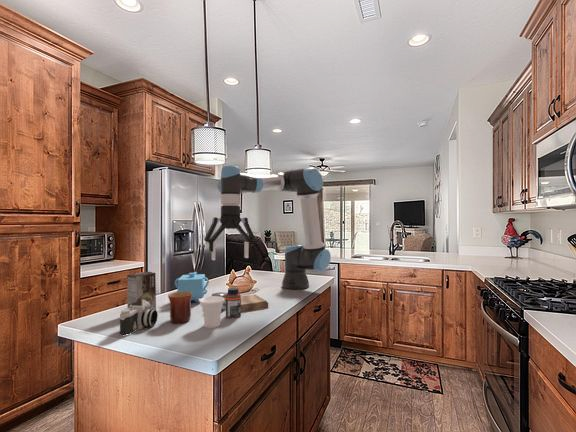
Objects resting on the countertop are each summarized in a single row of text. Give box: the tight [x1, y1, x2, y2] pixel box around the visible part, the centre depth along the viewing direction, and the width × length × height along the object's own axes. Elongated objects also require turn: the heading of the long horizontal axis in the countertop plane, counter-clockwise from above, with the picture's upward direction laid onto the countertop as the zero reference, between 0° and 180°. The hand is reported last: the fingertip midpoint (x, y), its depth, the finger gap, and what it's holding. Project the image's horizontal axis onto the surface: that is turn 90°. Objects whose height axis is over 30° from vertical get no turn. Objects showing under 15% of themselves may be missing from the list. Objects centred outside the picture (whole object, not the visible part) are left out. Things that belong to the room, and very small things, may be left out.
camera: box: [119, 299, 159, 336], centre depth 111 cm, size 16×9×10 cm, turn 178°
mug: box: [167, 291, 193, 325], centre depth 119 cm, size 12×9×10 cm
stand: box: [241, 294, 269, 313], centre depth 137 cm, size 14×14×3 cm
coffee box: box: [126, 270, 157, 311], centre depth 129 cm, size 9×6×16 cm
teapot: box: [174, 271, 210, 304], centre depth 150 cm, size 18×16×13 cm
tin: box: [211, 291, 228, 312], centre depth 132 cm, size 6×6×7 cm
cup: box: [199, 295, 224, 329], centre depth 112 cm, size 9×9×10 cm
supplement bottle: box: [225, 286, 242, 320], centre depth 123 cm, size 6×6×11 cm
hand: (230, 259), depth 124 cm, fingers open, 13 cm apart
